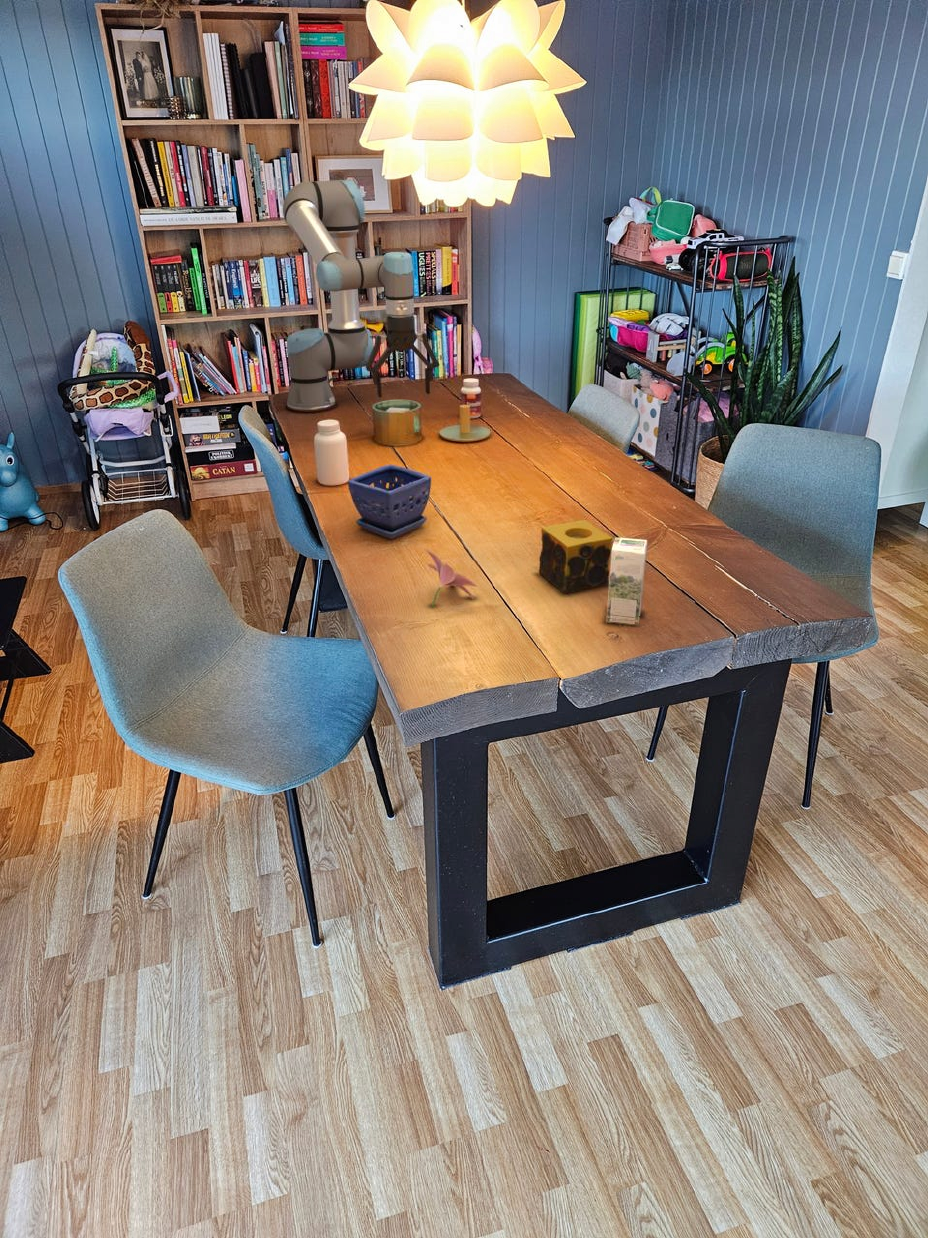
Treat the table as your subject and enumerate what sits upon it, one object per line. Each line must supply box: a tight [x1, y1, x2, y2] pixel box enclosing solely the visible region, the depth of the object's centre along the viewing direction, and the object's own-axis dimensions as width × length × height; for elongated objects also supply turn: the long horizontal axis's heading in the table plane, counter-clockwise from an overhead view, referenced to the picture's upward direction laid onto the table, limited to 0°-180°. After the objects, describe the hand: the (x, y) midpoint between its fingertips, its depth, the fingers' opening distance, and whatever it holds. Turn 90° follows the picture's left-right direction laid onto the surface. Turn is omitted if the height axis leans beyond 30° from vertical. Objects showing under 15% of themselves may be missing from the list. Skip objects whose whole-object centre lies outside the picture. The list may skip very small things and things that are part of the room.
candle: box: [538, 519, 613, 594], centre depth 168 cm, size 10×10×10 cm
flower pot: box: [347, 463, 432, 540], centre depth 191 cm, size 13×13×12 cm
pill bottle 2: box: [460, 377, 482, 419], centre depth 268 cm, size 6×6×11 cm
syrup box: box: [605, 536, 648, 627], centre depth 153 cm, size 6×6×14 cm
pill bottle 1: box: [313, 419, 350, 487], centre depth 218 cm, size 8×8×15 cm
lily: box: [424, 548, 478, 607], centre depth 162 cm, size 12×12×10 cm
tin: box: [371, 399, 423, 447], centre depth 249 cm, size 14×14×10 cm
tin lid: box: [439, 404, 491, 443], centre depth 251 cm, size 15×15×9 cm
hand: (403, 394), depth 245 cm, fingers open, 13 cm apart
